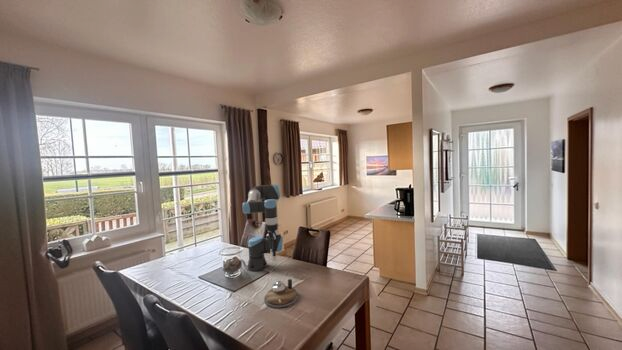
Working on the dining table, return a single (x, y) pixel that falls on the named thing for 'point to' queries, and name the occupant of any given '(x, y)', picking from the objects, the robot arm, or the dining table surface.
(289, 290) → the platter
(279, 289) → the cover
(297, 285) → the dining table surface
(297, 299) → the turntable base
